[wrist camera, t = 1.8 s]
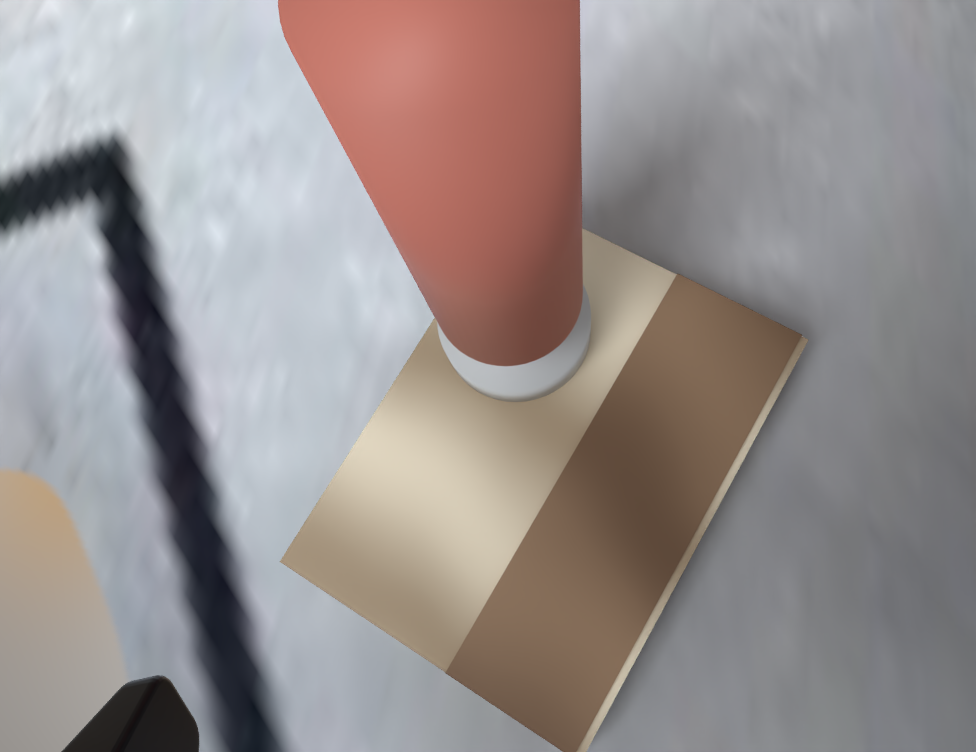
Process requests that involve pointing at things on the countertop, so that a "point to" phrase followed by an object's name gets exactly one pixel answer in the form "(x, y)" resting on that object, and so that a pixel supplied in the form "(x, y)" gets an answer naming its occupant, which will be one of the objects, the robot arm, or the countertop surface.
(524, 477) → the board
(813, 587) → the countertop surface
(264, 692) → the countertop surface
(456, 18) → the pink cylinder white base
